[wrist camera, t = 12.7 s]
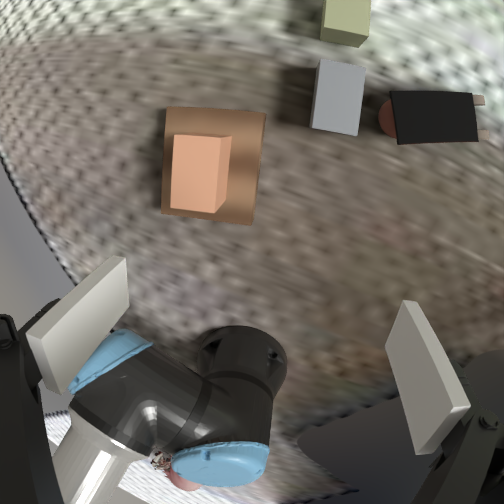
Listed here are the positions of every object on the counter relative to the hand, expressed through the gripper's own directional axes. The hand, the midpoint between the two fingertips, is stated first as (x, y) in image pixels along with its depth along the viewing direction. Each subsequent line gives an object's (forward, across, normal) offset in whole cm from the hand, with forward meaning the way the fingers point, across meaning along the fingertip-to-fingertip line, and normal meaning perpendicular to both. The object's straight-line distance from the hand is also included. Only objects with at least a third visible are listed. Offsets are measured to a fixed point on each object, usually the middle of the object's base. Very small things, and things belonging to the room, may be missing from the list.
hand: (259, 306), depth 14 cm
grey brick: (+29, -5, -12) cm, 32 cm away
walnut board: (+29, +9, -2) cm, 30 cm away
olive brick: (+29, -5, -24) cm, 38 cm away
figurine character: (+29, -18, -13) cm, 37 cm away
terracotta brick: (+26, +9, -2) cm, 27 cm away
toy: (+29, +14, +70) cm, 77 cm away
